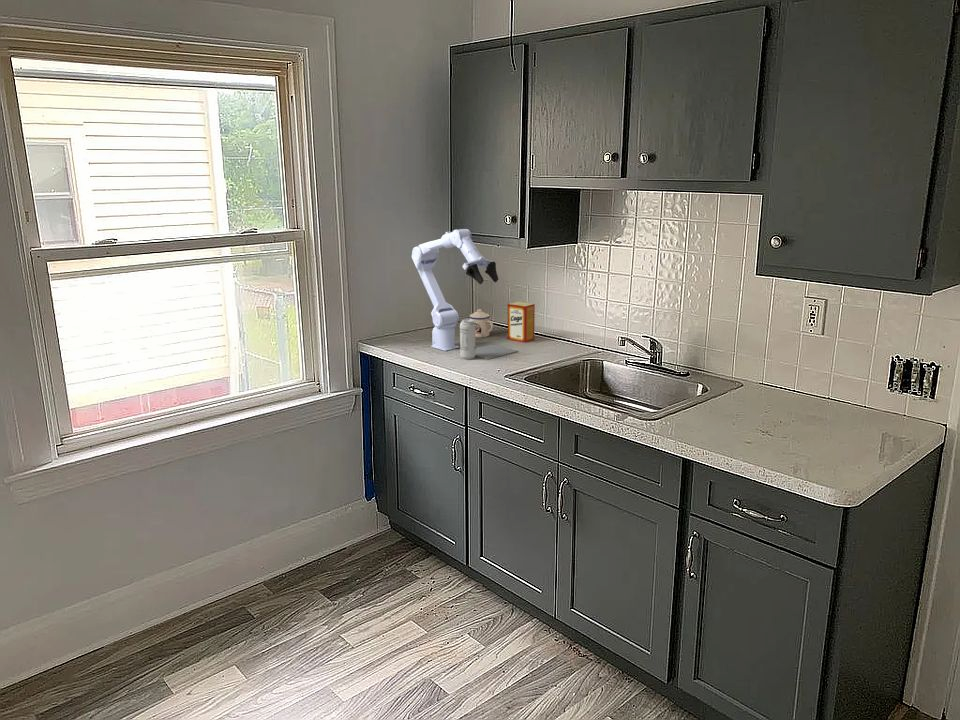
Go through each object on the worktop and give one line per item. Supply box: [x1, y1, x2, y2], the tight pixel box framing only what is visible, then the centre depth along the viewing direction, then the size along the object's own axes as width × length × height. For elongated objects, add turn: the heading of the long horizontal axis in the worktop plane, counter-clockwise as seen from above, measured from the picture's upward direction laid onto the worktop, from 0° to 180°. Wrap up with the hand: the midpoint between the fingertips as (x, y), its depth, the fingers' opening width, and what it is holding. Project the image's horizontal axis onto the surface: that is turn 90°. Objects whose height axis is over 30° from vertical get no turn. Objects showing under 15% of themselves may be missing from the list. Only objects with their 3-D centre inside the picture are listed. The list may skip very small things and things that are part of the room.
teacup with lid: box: [468, 308, 494, 338], centre depth 326 cm, size 12×9×12 cm
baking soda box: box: [507, 301, 536, 344], centre depth 318 cm, size 10×6×16 cm
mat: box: [475, 344, 519, 361], centre depth 300 cm, size 15×17×1 cm
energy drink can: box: [459, 318, 476, 361], centre depth 291 cm, size 6×6×15 cm
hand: (489, 281), depth 279 cm, fingers open, 7 cm apart
